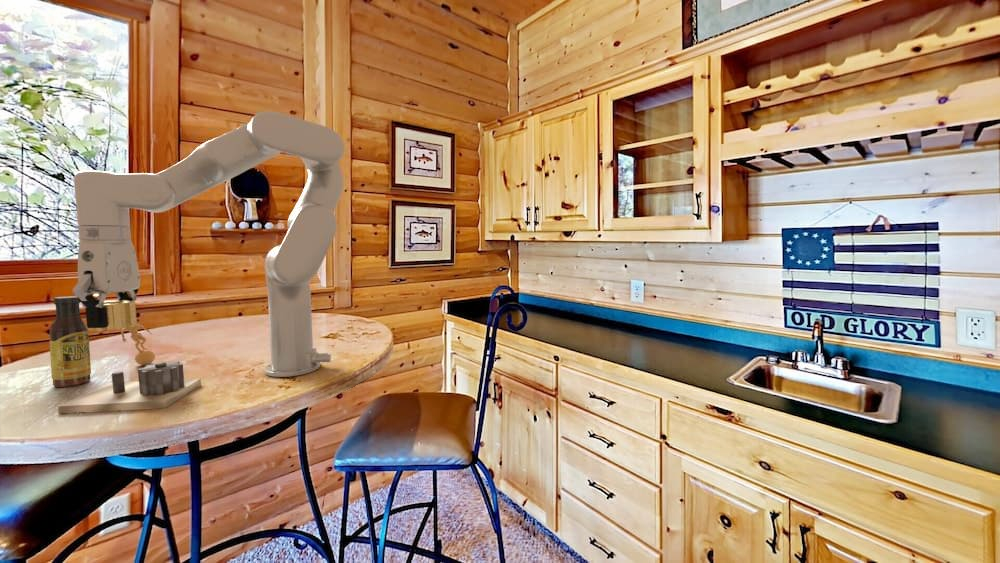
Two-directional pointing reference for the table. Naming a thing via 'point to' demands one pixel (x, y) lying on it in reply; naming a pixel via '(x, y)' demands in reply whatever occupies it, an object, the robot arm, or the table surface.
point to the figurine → (143, 355)
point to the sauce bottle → (69, 344)
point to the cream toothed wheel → (119, 315)
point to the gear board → (136, 391)
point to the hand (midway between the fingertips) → (113, 322)
